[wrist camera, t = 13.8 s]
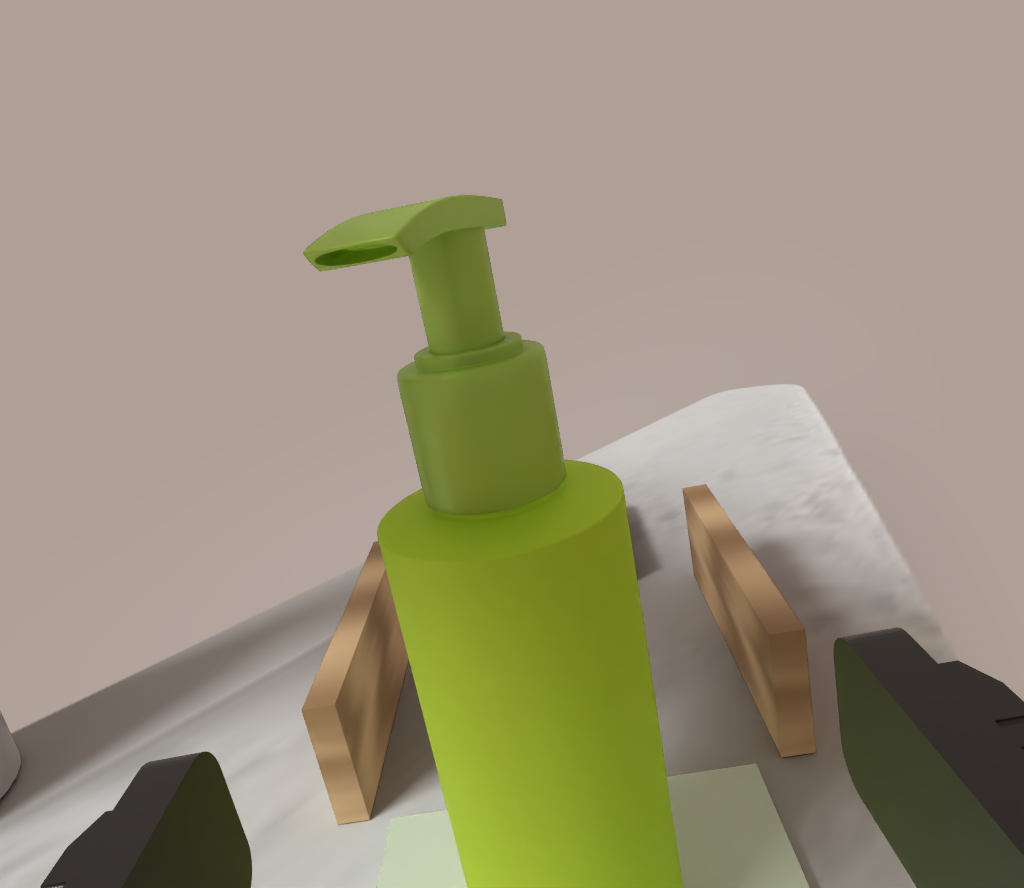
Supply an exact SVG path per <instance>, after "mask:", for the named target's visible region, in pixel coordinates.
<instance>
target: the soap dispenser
mask: <svg viewBox="0 0 1024 888" xmlns="http://www.w3.org/2000/svg"><path fill="white" fill-rule="evenodd" d="M501 226H506V218H505V213H504V207H503V202H502V199H498V198H492V197H485V196H475V195H457V196H450V197H445V198H440V199H435V200H430V201H425V202H420V203H415V204H411V205H406V206H401V207H396V208H391V209H386V210H381V211H376V212H371V213H367V214H364V215H360V216H357V217H354V218H351V219H349V220H347V221H345V222H342V223H340V224H339V225H337V226H335V227H334V228H332V229H331V230H329V231H327V232H326V233H324V234H323V235H322V236H320V237H319V238H318V239H317V240H316V241H314V242H313V243H312V244H311V245H310V246H308V247H307V248H306V250H305V251H304V255H305V257H306V258H307V259H308V260H309V262H310V263H311V264H312V265H313V266H314V267H315V268H317V269H318V270H319V271H327V270H332V269H338V268H344V267H349V266H355V265H360V264H366V263H372V262H377V261H383V260H388V259H394V258H400V257H405V256H409V258H410V263H411V267H412V272H413V277H414V281H415V286H416V290H417V294H418V300H419V304H420V309H421V313H422V318H423V322H424V327H425V332H426V336H427V340H428V346H429V347H426V348H424V349H422V350H420V351H419V352H417V353H416V354H415V355H414V360H415V361H414V362H412V363H410V364H408V365H406V366H405V367H403V368H402V369H401V370H400V371H399V372H398V375H397V381H398V386H399V391H400V395H401V399H402V404H403V407H404V412H405V416H406V421H407V425H408V429H409V434H410V438H411V442H412V446H413V451H414V455H415V459H416V464H417V468H418V472H419V476H420V481H421V485H422V489H420V490H418V491H417V492H415V493H413V494H411V495H409V496H408V497H406V498H405V499H403V500H402V501H400V502H399V503H398V504H396V505H395V506H394V507H393V508H392V509H390V510H389V511H388V512H387V513H386V515H385V516H384V517H383V519H382V520H381V522H380V524H379V526H378V531H377V536H378V541H379V545H380V549H381V553H382V557H383V561H384V565H385V568H386V572H387V576H388V580H389V584H390V588H391V592H392V596H393V600H394V604H395V608H396V611H397V615H398V619H399V623H400V627H401V631H402V635H403V639H404V643H405V647H406V650H407V654H408V658H409V662H410V666H411V670H412V674H413V678H414V682H415V686H416V689H417V693H418V697H419V701H420V705H421V709H422V713H423V717H424V721H425V725H426V729H427V732H428V736H429V740H430V744H431V748H432V752H433V756H434V760H435V764H436V768H437V771H438V775H439V779H440V783H441V787H442V791H443V795H444V799H445V803H446V807H447V810H448V814H449V818H450V822H451V826H452V830H453V834H454V838H455V842H456V846H457V850H458V853H459V857H460V861H461V865H462V869H463V873H464V877H465V881H466V885H467V888H683V882H682V875H681V869H680V862H679V855H678V849H677V842H676V835H675V829H674V822H673V815H672V809H671V802H670V795H669V789H668V782H667V775H666V769H665V762H664V755H663V749H662V742H661V735H660V729H659V722H658V715H657V709H656V702H655V695H654V689H653V682H652V675H651V669H650V662H649V655H648V649H647V642H646V635H645V629H644V622H643V615H642V609H641V602H640V595H639V589H638V582H637V575H636V569H635V562H634V555H633V549H632V542H631V535H630V529H629V522H628V515H627V509H626V502H625V495H624V489H623V485H622V482H621V480H620V479H619V478H618V477H617V476H616V475H615V474H614V473H613V472H611V471H610V470H608V469H606V468H603V467H601V466H598V465H595V464H591V463H587V462H581V461H573V460H564V457H563V451H562V445H561V440H560V433H559V428H558V422H557V416H556V410H555V404H554V399H553V393H552V387H551V381H550V376H549V370H548V364H547V358H546V354H545V350H544V347H543V346H542V345H541V344H540V343H538V342H535V341H529V340H522V339H521V336H520V335H519V334H518V333H515V332H503V328H502V322H501V317H500V311H499V306H498V301H497V296H496V290H495V285H494V279H493V274H492V268H491V263H490V258H489V252H488V247H487V242H486V236H485V231H484V230H485V229H491V228H496V227H501Z"/></svg>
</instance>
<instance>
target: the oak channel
mask: <svg viewBox="0 0 1024 888" xmlns="http://www.w3.org/2000/svg"><path fill="white" fill-rule="evenodd" d="M682 489H683V496H684V504H685V511H686V519H687V526H688V534H689V541H690V549H691V556H692V564H693V571H694V576H695V578H696V581H697V583H698V585H699V587H700V589H701V591H702V593H703V595H704V597H705V599H706V601H707V603H708V605H709V608H710V610H711V612H712V614H713V616H714V618H715V620H716V622H717V624H718V626H719V628H720V630H721V633H722V635H723V637H724V639H725V641H726V643H727V645H728V647H729V649H730V651H731V653H732V655H733V657H734V660H735V662H736V664H737V666H738V668H739V670H740V672H741V674H742V676H743V678H744V680H745V682H746V684H747V687H748V689H749V691H750V693H751V695H752V697H753V699H754V701H755V703H756V705H757V707H758V709H759V711H760V714H761V716H762V718H763V720H764V722H765V724H766V726H767V728H768V730H769V732H770V734H771V736H772V738H773V741H774V743H775V745H776V747H777V749H778V751H779V753H780V755H781V757H789V756H795V755H802V754H809V753H815V752H816V748H815V737H814V725H813V714H812V703H811V691H810V680H809V669H808V657H807V646H806V635H805V628H804V627H803V625H802V624H801V623H800V621H799V620H798V618H797V617H796V615H795V614H794V612H793V611H792V609H791V608H790V606H789V605H788V603H787V602H786V601H785V599H784V598H783V596H782V595H781V593H780V592H779V590H778V589H777V587H776V586H775V584H774V583H773V582H772V580H771V579H770V577H769V576H768V574H767V573H766V571H765V570H764V568H763V567H762V565H761V564H760V563H759V561H758V560H757V558H756V557H755V555H754V554H753V552H752V551H751V549H750V548H749V546H748V545H747V544H746V542H745V541H744V539H743V538H742V536H741V535H740V533H739V532H738V530H737V529H736V527H735V526H734V525H733V523H732V522H731V520H730V519H729V517H728V516H727V514H726V513H725V511H724V510H723V508H722V507H721V506H720V504H719V503H718V501H717V500H716V498H715V497H714V495H713V494H712V492H711V491H710V489H709V488H708V487H707V485H706V484H705V485H699V486H693V487H687V488H682ZM408 660H409V658H408V654H407V650H406V647H405V643H404V639H403V635H402V631H401V627H400V623H399V619H398V615H397V611H396V608H395V604H394V600H393V596H392V592H391V588H390V584H389V580H388V576H387V572H386V568H385V565H384V561H383V557H382V553H381V549H380V545H379V541H378V542H374V543H373V546H372V548H371V550H370V553H369V555H368V557H367V560H366V562H365V564H364V566H363V569H362V571H361V573H360V576H359V578H358V580H357V583H356V585H355V587H354V590H353V592H352V594H351V597H350V599H349V601H348V604H347V606H346V608H345V610H344V613H343V615H342V617H341V620H340V622H339V624H338V627H337V629H336V631H335V634H334V636H333V638H332V641H331V643H330V645H329V648H328V650H327V652H326V654H325V657H324V659H323V661H322V664H321V666H320V668H319V671H318V673H317V675H316V678H315V680H314V682H313V685H312V687H311V689H310V692H309V694H308V696H307V698H306V701H305V703H304V705H303V708H302V713H303V717H304V720H305V723H306V726H307V729H308V732H309V735H310V739H311V742H312V745H313V748H314V751H315V754H316V757H317V761H318V764H319V767H320V770H321V773H322V776H323V779H324V782H325V786H326V789H327V792H328V795H329V798H330V801H331V804H332V808H333V811H334V814H335V817H336V820H337V823H338V824H345V823H351V822H358V821H364V820H370V816H371V812H372V808H373V804H374V800H375V796H376V792H377V787H378V783H379V779H380V775H381V771H382V767H383V763H384V759H385V754H386V750H387V746H388V742H389V738H390V734H391V730H392V726H393V721H394V717H395V713H396V709H397V705H398V701H399V697H400V693H401V688H402V684H403V680H404V676H405V672H406V668H407V664H408Z"/></svg>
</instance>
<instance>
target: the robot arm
mask: <svg viewBox="0 0 1024 888" xmlns="http://www.w3.org/2000/svg"><path fill="white" fill-rule="evenodd" d="M834 665H835V676H836V687H837V698H838V710H839V721H840V732H841V742H842V748H843V753H844V757H845V761H846V764H847V767H848V770H849V773H850V776H851V778H852V781H853V783H854V786H855V788H856V790H857V792H858V794H859V795H860V797H861V799H862V800H863V802H864V804H865V805H866V807H867V808H868V810H869V812H870V813H871V815H872V816H873V818H874V820H875V821H876V823H877V824H878V826H879V828H880V829H881V831H882V832H883V834H884V836H885V837H886V839H887V840H888V842H889V844H890V845H891V847H892V848H893V850H894V851H895V853H896V855H897V856H898V858H899V859H900V861H901V863H902V864H903V866H904V867H905V869H906V871H907V872H908V874H909V875H910V877H911V879H912V880H913V882H914V883H915V885H916V887H917V888H1024V702H1023V701H1022V700H1021V699H1020V698H1019V697H1018V696H1017V695H1016V694H1015V693H1013V692H1012V691H1011V690H1010V689H1009V688H1008V687H1007V686H1006V685H1005V684H1004V683H1002V682H1000V681H998V680H996V679H994V678H992V677H990V676H988V675H986V674H984V673H982V672H980V671H978V670H976V669H974V668H972V667H970V666H968V665H966V664H964V663H962V662H960V661H952V662H947V663H941V664H938V663H937V662H936V661H935V660H934V659H933V658H932V657H931V656H930V655H929V654H928V653H927V652H926V651H925V650H924V649H923V648H922V647H921V646H920V645H919V644H918V643H917V642H916V641H915V640H914V639H913V638H912V637H911V636H910V635H909V634H908V633H907V632H906V631H904V630H903V629H901V628H892V629H886V630H881V631H875V632H870V633H864V634H859V635H853V636H848V637H842V638H838V639H837V640H836V641H835V644H834ZM20 765H21V759H20V753H19V751H18V749H17V746H16V744H15V742H14V740H13V738H12V735H11V733H10V731H9V729H8V727H7V725H6V722H5V720H4V718H3V716H2V713H1V711H0V799H1V798H2V796H3V795H4V794H5V793H6V792H7V791H8V789H9V788H10V786H11V785H12V783H13V781H14V780H15V778H16V777H17V774H18V771H19V768H20ZM251 880H252V860H251V853H250V848H249V844H248V841H247V838H246V836H245V833H244V830H243V828H242V825H241V822H240V819H239V817H238V814H237V811H236V809H235V806H234V803H233V800H232V798H231V795H230V792H229V790H228V787H227V784H226V781H225V779H224V776H223V773H222V770H221V768H220V765H219V763H218V761H217V760H216V758H215V757H214V756H213V755H212V754H211V753H209V752H201V753H195V754H190V755H184V756H179V757H173V758H168V759H162V760H157V761H151V762H148V763H146V764H145V765H144V766H142V767H141V769H140V770H139V771H138V773H137V774H136V776H135V777H134V779H133V780H132V782H131V783H130V785H129V787H128V788H127V790H126V791H125V793H124V794H123V796H122V797H121V799H120V800H119V802H118V803H117V805H116V806H115V808H114V810H112V811H107V812H105V813H104V814H103V815H102V816H101V817H99V818H98V819H97V820H96V821H95V822H94V823H93V824H92V825H91V826H90V827H89V828H88V829H87V830H85V831H84V832H83V833H82V834H81V835H80V836H79V837H78V838H77V839H76V840H75V841H74V842H72V843H71V844H70V845H69V846H68V847H67V848H66V850H65V851H64V853H63V854H62V856H61V857H60V859H59V860H58V862H57V863H56V864H55V866H54V867H53V869H52V870H51V872H50V873H49V875H48V876H47V878H46V879H45V880H44V882H43V883H42V885H41V886H40V887H41V888H251Z"/></svg>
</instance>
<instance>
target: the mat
mask: <svg viewBox="0 0 1024 888" xmlns="http://www.w3.org/2000/svg"><path fill="white" fill-rule="evenodd" d="M667 782H668V789H669V795H670V802H671V809H672V815H673V822H674V829H675V835H676V842H677V849H678V855H679V862H680V869H681V875H682V882H683V888H810V887H809V885H808V882H807V880H806V878H805V875H804V873H803V871H802V868H801V866H800V864H799V862H798V859H797V857H796V855H795V852H794V850H793V848H792V845H791V843H790V841H789V838H788V836H787V834H786V831H785V829H784V827H783V824H782V822H781V820H780V817H779V815H778V813H777V810H776V808H775V806H774V803H773V801H772V799H771V796H770V794H769V792H768V789H767V787H766V785H765V783H764V780H763V778H762V776H761V773H760V771H759V769H758V766H757V764H756V763H754V764H748V765H741V766H734V767H728V768H721V769H714V770H708V771H701V772H694V773H688V774H681V775H675V776H668V777H667ZM376 888H467V885H466V881H465V877H464V873H463V869H462V865H461V861H460V857H459V853H458V850H457V846H456V842H455V838H454V834H453V830H452V826H451V822H450V818H449V814H448V810H442V811H436V812H429V813H422V814H416V815H409V816H402V817H396V818H391V820H390V825H389V829H388V834H387V839H386V844H385V849H384V853H383V858H382V863H381V868H380V872H379V877H378V882H377V887H376Z"/></svg>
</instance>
